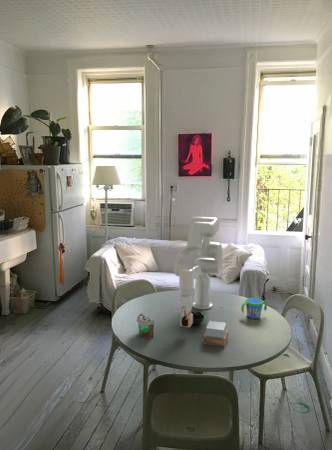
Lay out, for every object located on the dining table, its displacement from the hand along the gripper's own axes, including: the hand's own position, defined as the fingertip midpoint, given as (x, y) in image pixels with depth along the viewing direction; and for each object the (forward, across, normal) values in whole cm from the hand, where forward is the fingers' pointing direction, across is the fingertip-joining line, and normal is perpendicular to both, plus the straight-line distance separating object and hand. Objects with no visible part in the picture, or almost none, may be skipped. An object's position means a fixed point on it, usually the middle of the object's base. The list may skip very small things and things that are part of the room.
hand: (186, 322), depth 206 cm
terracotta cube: (+1, 0, 0) cm, 1 cm away
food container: (+8, +7, -22) cm, 24 cm away
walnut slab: (+8, 0, +16) cm, 18 cm away
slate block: (+3, 0, +16) cm, 16 cm away
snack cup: (+9, -37, +31) cm, 49 cm away
